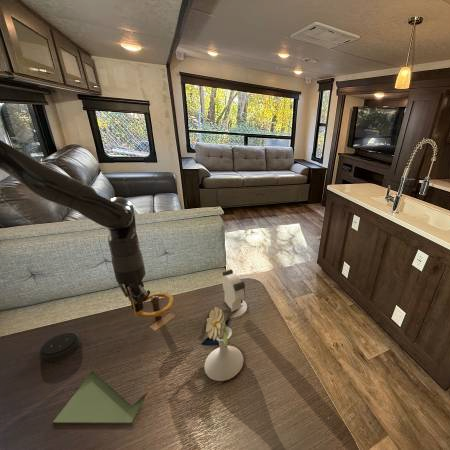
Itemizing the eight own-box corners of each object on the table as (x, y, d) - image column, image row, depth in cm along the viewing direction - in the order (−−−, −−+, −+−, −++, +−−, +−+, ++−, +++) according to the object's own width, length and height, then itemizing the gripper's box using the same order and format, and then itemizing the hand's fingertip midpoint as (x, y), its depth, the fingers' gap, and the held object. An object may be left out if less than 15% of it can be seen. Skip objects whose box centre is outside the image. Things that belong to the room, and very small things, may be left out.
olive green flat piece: (53, 423, 59) (52, 422, 59) (92, 371, 71) (92, 370, 70) (131, 423, 60) (131, 422, 60) (157, 372, 72) (157, 371, 72)
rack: (140, 324, 87) (135, 299, 83) (161, 310, 94) (157, 286, 89) (155, 334, 84) (150, 308, 80) (176, 319, 91) (172, 294, 86)
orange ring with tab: (125, 310, 83) (121, 292, 80) (159, 290, 93) (157, 274, 90) (147, 324, 78) (143, 306, 75) (180, 302, 88) (178, 285, 85)
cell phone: (230, 314, 95) (230, 313, 95) (222, 345, 82) (222, 343, 82) (211, 314, 94) (211, 312, 94) (200, 345, 82) (199, 343, 81)
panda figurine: (253, 311, 97) (254, 279, 92) (226, 323, 90) (225, 290, 85) (238, 295, 106) (239, 265, 100) (213, 305, 99) (211, 273, 93)
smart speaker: (40, 351, 75) (36, 342, 73) (79, 335, 81) (75, 326, 79) (44, 371, 69) (39, 362, 68) (84, 352, 76) (81, 343, 74)
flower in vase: (206, 353, 79) (201, 290, 69) (242, 347, 82) (242, 287, 72) (202, 394, 68) (194, 326, 58) (244, 386, 71) (244, 320, 61)
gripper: (101, 262, 73) (113, 308, 80) (129, 278, 68) (139, 325, 74) (127, 252, 79) (136, 295, 86) (155, 266, 74) (162, 310, 81)
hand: (138, 309), depth 80 cm, fingers closed on orange ring with tab, 1 cm apart
